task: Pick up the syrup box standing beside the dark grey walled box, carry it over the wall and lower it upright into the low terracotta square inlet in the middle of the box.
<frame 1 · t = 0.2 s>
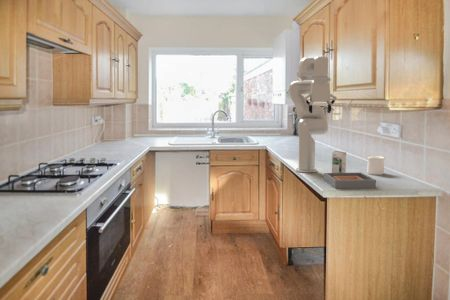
hand: (319, 112, 219), 36 cm above the counter, tool pointing down, fingers open, 9 cm apart
walled box: (348, 183, 210), on the counter
cup: (375, 173, 239), on the counter
syrup box: (338, 177, 227), on the counter
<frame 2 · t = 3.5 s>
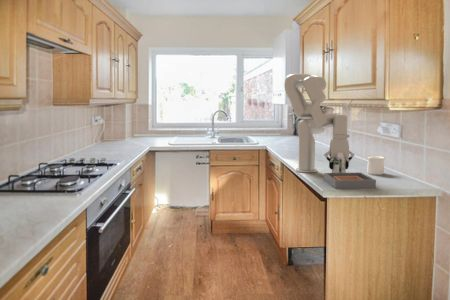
hand: (338, 168, 226), 5 cm above the counter, tool pointing down, fingers closed on syrup box, 7 cm apart
syrup box: (338, 177, 227), on the counter, touching gripper
everything else where it was.
when the fingers open (6 cm above the counter, at t = 13.7 s): syrup box drops 1 cm, resting in walled box.
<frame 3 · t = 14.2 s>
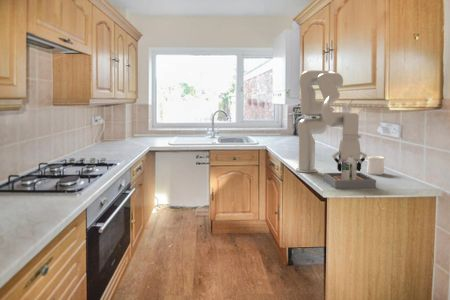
hand: (349, 170, 209), 7 cm above the counter, tool pointing down, fingers open, 9 cm apart
syrup box: (348, 184, 210), resting in walled box
everything else where it was.
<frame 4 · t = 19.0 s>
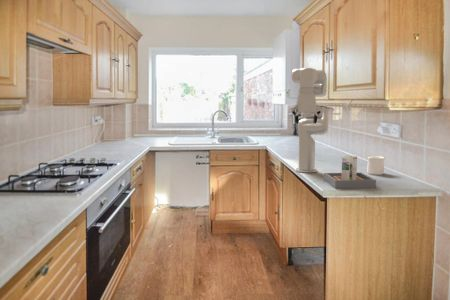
hand: (305, 123, 222), 30 cm above the counter, tool pointing down, fingers open, 9 cm apart
nothing on the counter moved.
at the end: syrup box 0.2 cm off-centre on the walled box, point 0.0 cm above the walled box's base; syrup box tilted 0°; the gripper is holding nothing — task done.
